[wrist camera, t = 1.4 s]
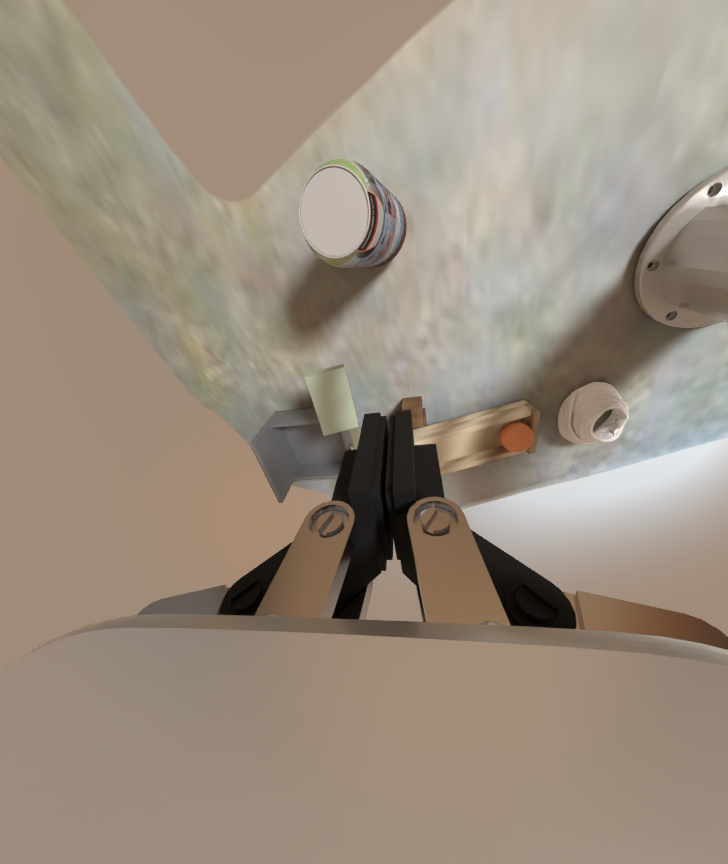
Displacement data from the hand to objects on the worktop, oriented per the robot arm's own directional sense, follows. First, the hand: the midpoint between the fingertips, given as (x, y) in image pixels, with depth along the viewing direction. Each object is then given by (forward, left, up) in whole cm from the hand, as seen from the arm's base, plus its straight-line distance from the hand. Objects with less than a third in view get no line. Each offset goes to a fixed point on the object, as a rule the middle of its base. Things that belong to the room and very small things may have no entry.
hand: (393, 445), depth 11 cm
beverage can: (+3, -8, -26) cm, 27 cm away
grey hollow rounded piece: (-20, +15, -26) cm, 36 cm away
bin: (+15, +16, -26) cm, 34 cm away
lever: (-1, +11, -23) cm, 26 cm away
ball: (-11, +16, -22) cm, 30 cm away
